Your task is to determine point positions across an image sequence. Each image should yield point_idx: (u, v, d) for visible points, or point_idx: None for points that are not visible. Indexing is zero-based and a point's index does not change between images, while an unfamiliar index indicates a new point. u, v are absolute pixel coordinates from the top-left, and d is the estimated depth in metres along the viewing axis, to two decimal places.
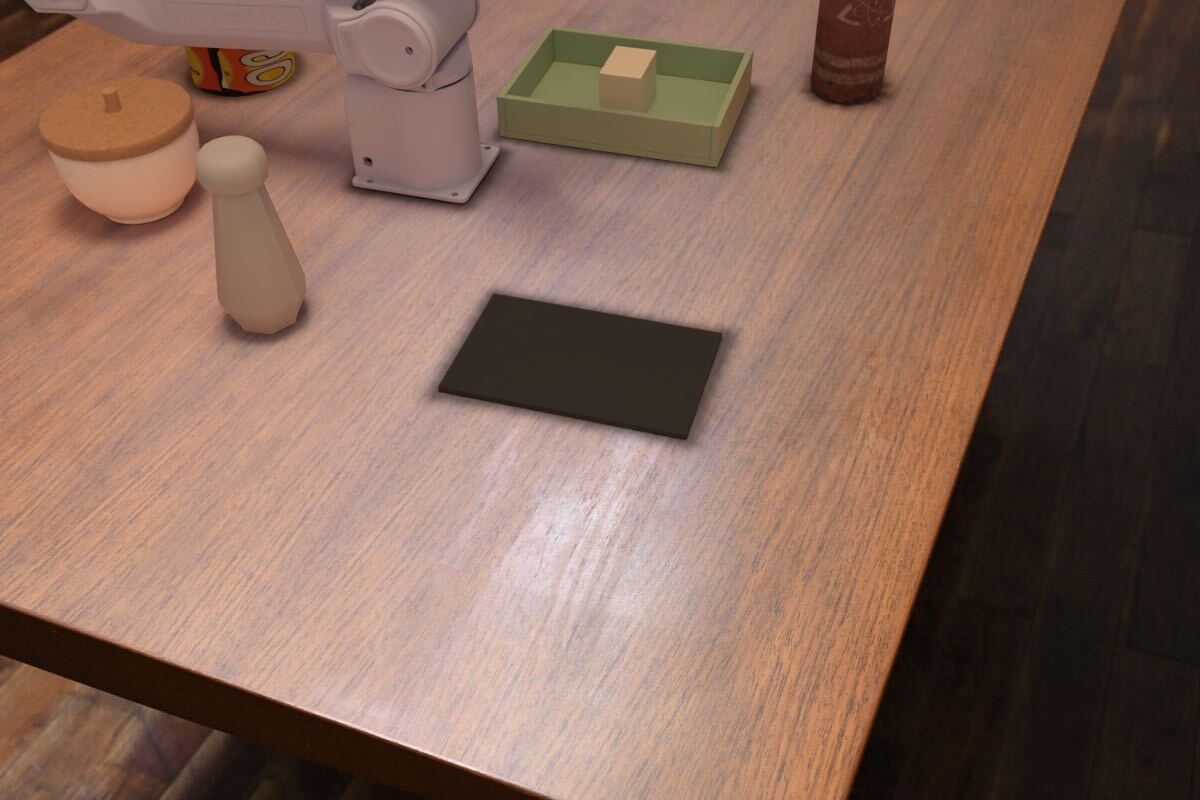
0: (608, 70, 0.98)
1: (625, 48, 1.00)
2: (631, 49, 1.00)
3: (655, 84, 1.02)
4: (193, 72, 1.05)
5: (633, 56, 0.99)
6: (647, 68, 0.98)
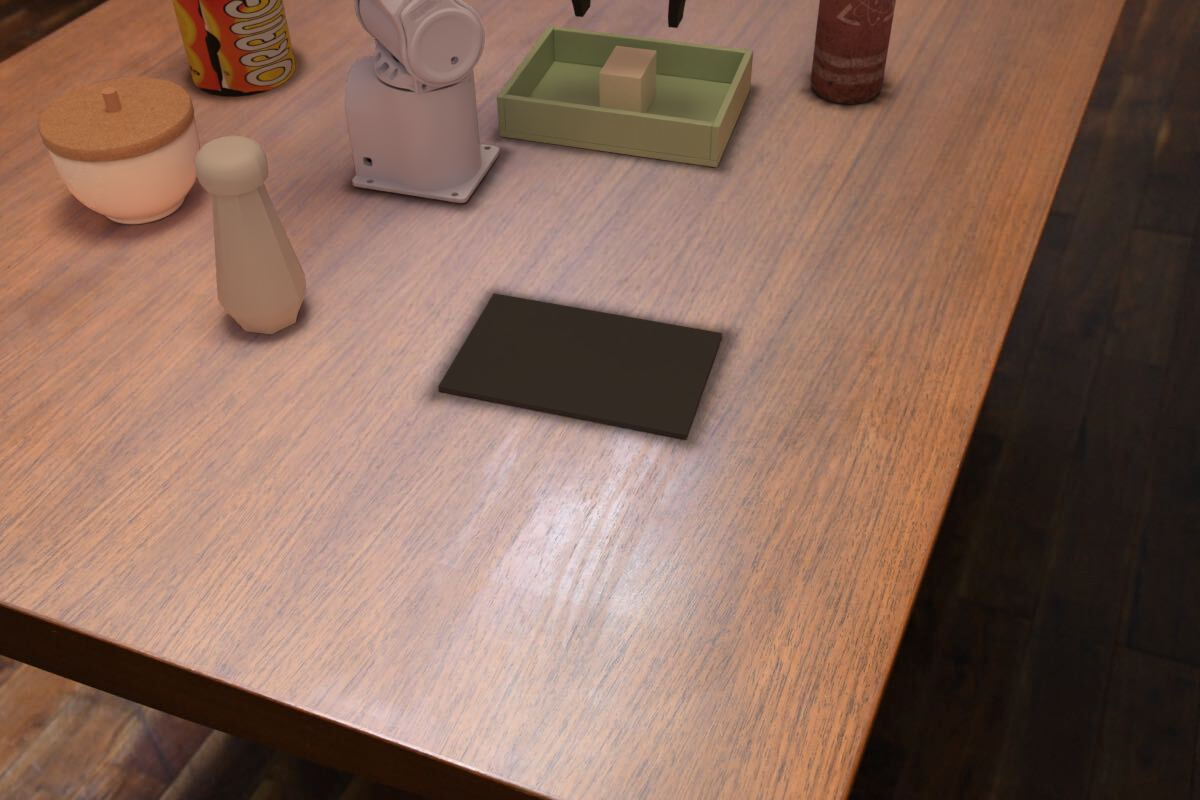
0: (608, 70, 0.98)
1: (625, 48, 1.00)
2: (631, 49, 1.00)
3: (655, 84, 1.02)
4: (193, 72, 1.05)
5: (633, 56, 0.99)
6: (647, 68, 0.98)
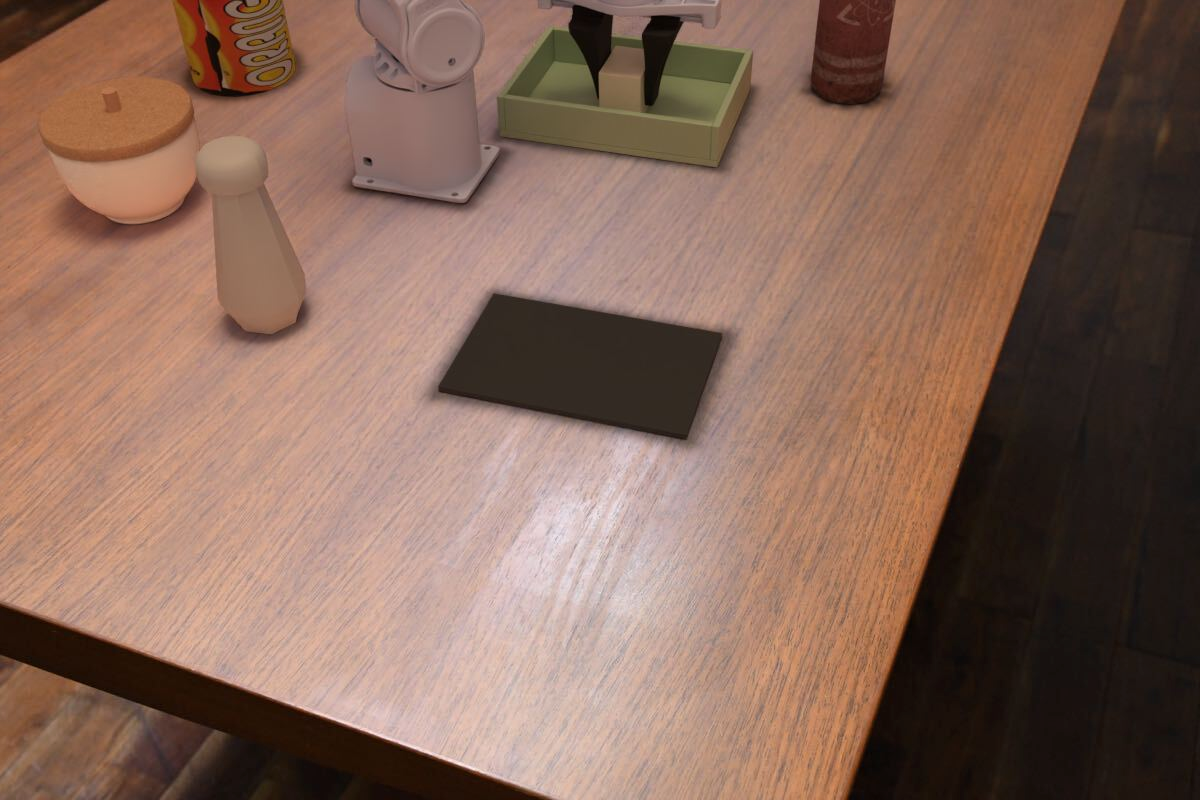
0: (607, 70, 0.98)
1: (625, 48, 1.00)
2: (631, 49, 1.00)
3: None
4: (193, 72, 1.05)
5: (632, 56, 0.99)
6: None
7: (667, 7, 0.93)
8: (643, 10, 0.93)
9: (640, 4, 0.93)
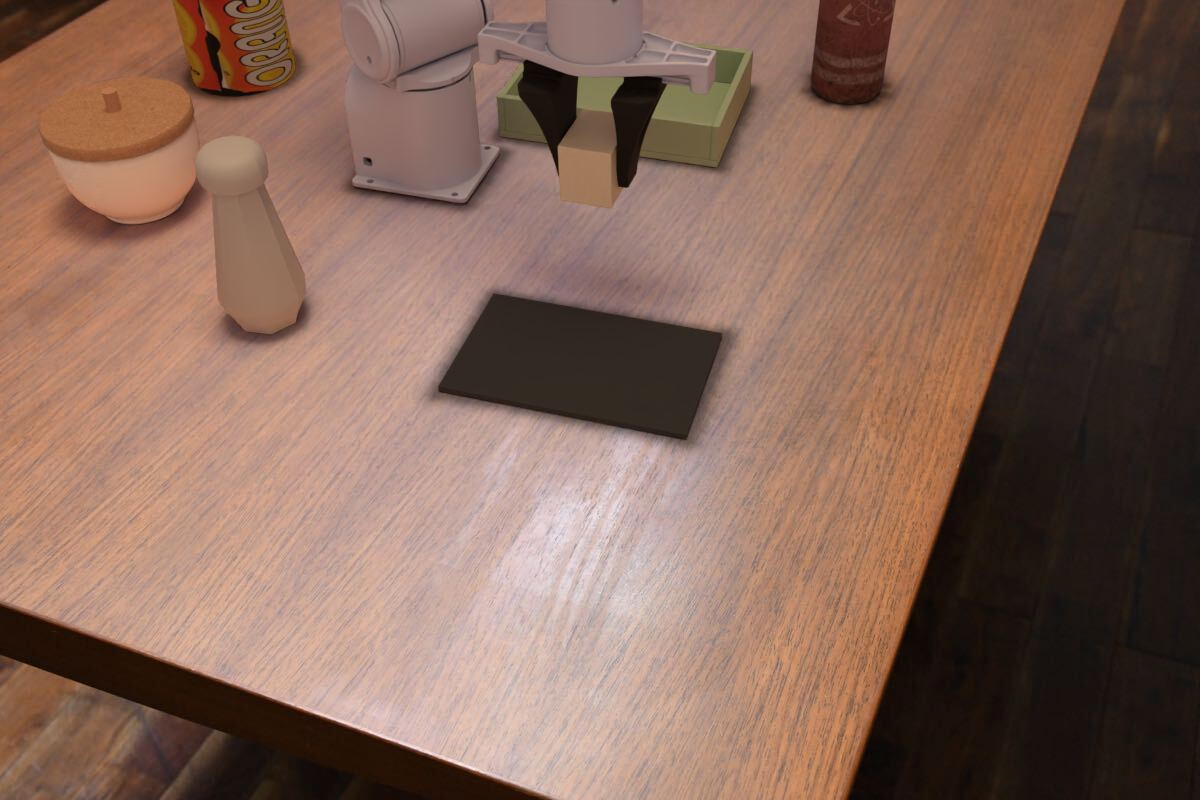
0: (569, 142, 0.76)
1: (594, 112, 0.78)
2: (602, 113, 0.78)
3: None
4: (193, 72, 1.05)
5: (603, 124, 0.77)
6: None
7: (644, 66, 0.70)
8: (612, 70, 0.71)
9: (608, 62, 0.71)
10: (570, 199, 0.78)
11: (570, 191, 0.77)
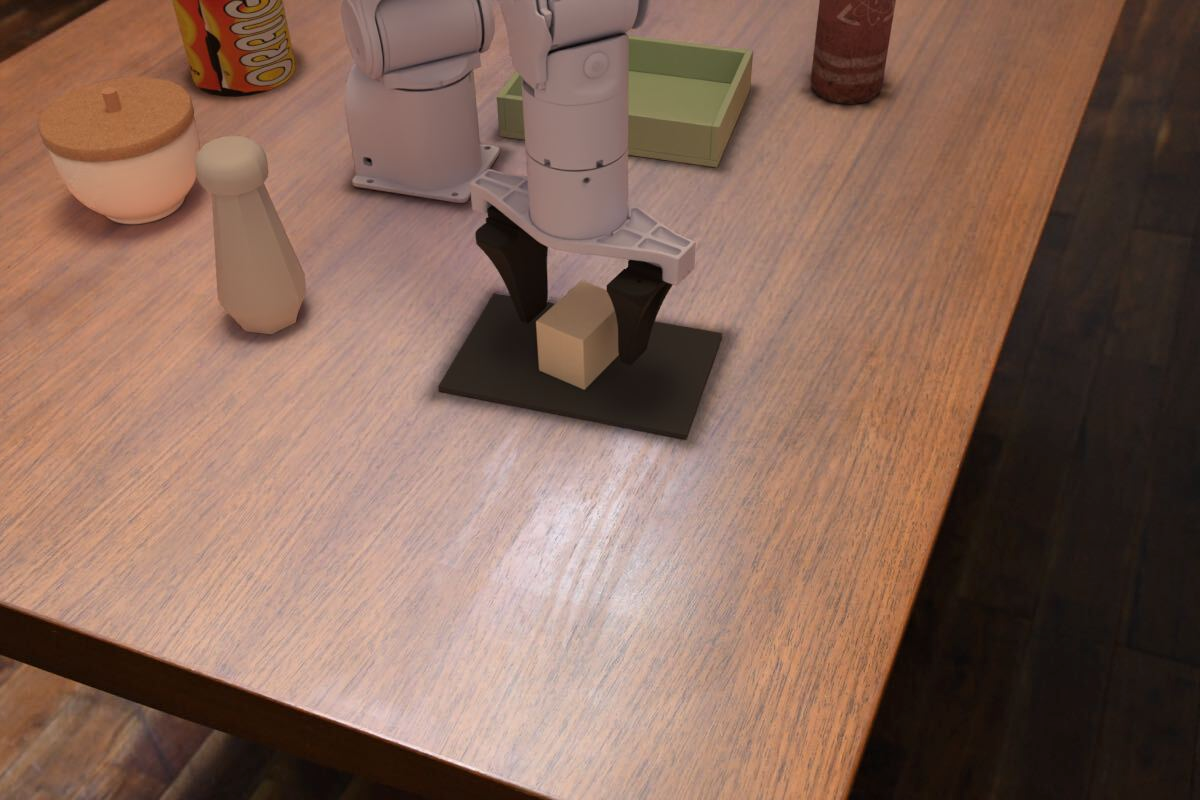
0: (549, 319, 0.74)
1: (589, 287, 0.77)
2: (596, 290, 0.76)
3: None
4: (193, 72, 1.05)
5: (592, 302, 0.75)
6: (601, 324, 0.74)
7: (613, 249, 0.67)
8: (582, 247, 0.68)
9: (579, 238, 0.68)
10: (547, 372, 0.76)
11: (547, 364, 0.76)
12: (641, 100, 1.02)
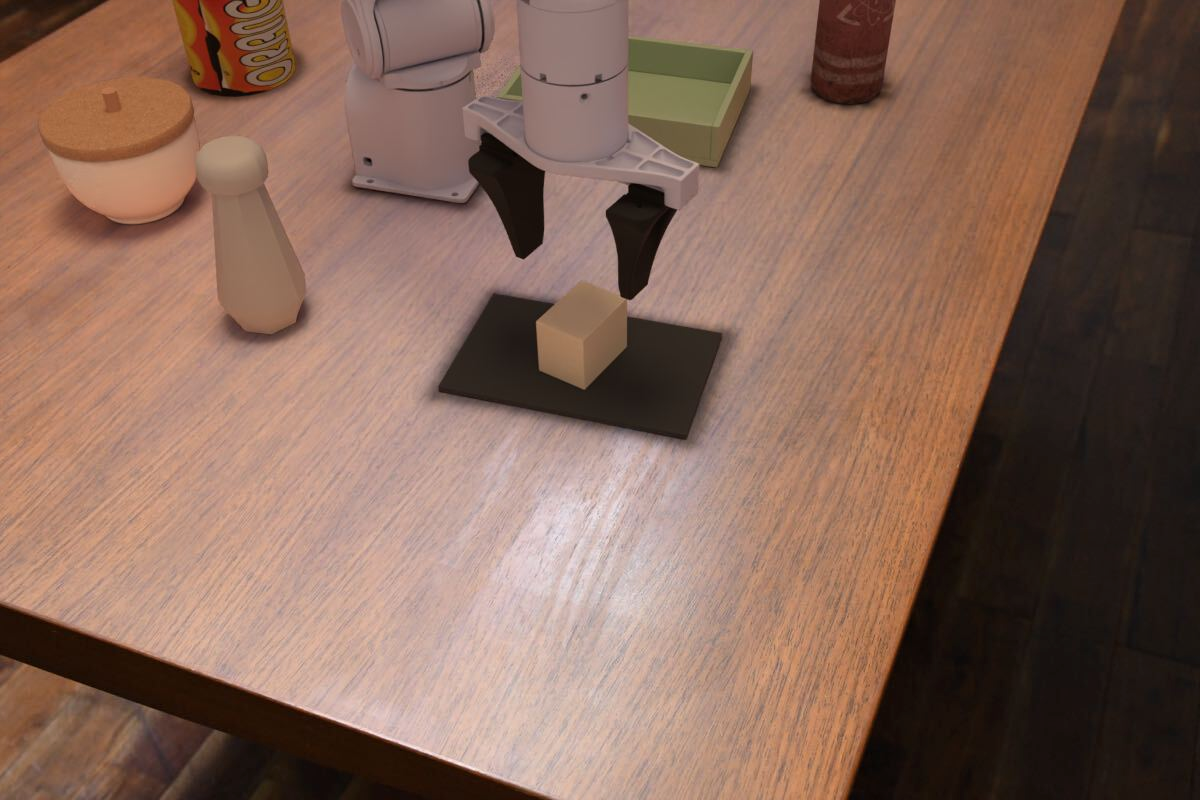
0: (549, 319, 0.74)
1: (589, 287, 0.77)
2: (596, 290, 0.76)
3: (625, 336, 0.78)
4: (193, 72, 1.05)
5: (592, 302, 0.75)
6: (601, 324, 0.74)
7: (613, 171, 0.64)
8: (579, 170, 0.65)
9: (577, 161, 0.65)
10: (547, 372, 0.76)
11: (547, 364, 0.76)
12: (641, 100, 1.02)
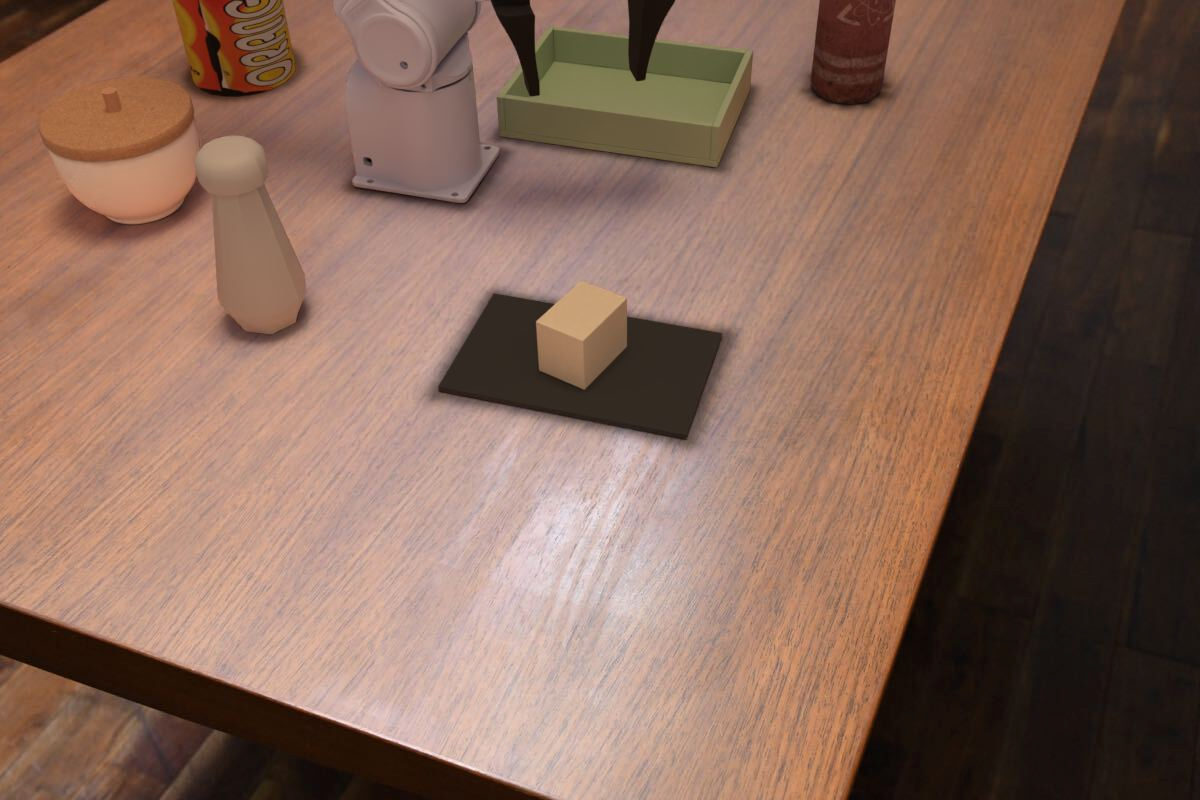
0: (549, 319, 0.74)
1: (589, 287, 0.77)
2: (596, 290, 0.76)
3: (625, 336, 0.78)
4: (193, 72, 1.05)
5: (592, 302, 0.75)
6: (601, 324, 0.74)
7: None
8: None
9: None
10: (547, 372, 0.76)
11: (547, 364, 0.76)
12: (641, 100, 1.02)
